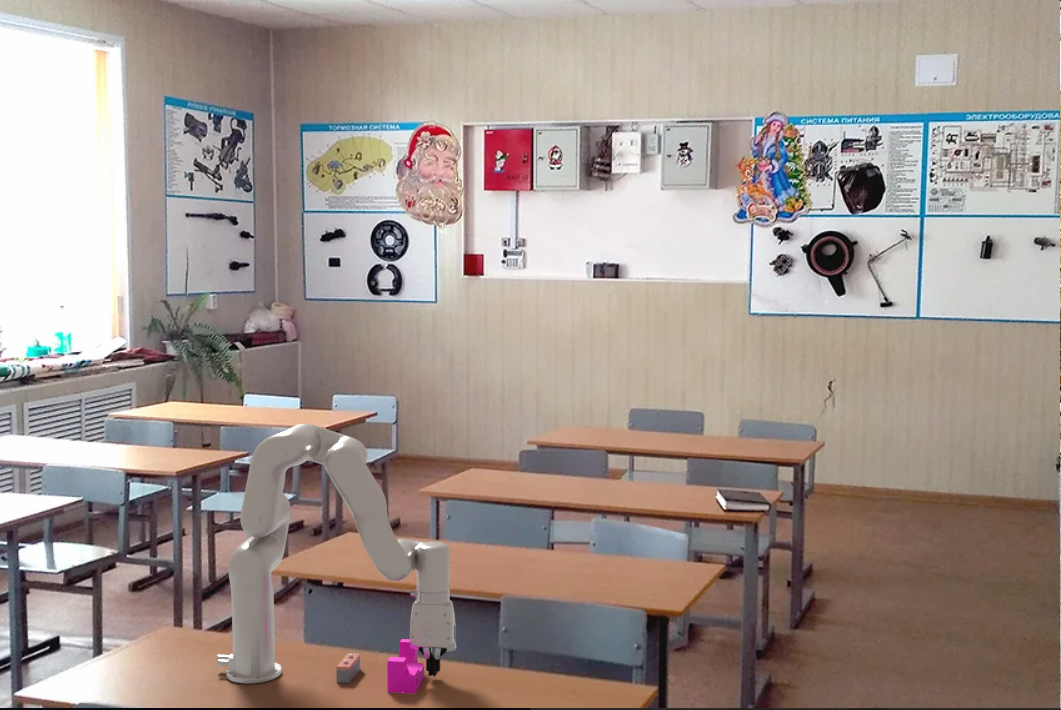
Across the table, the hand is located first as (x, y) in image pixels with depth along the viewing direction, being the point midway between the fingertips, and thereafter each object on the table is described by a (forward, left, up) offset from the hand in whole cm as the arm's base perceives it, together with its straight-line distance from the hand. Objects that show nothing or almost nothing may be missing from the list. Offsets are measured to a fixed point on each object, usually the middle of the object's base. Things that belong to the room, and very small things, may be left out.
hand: (433, 673), depth 268 cm
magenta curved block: (-5, -2, -2) cm, 6 cm away
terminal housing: (-20, 0, -1) cm, 20 cm away
